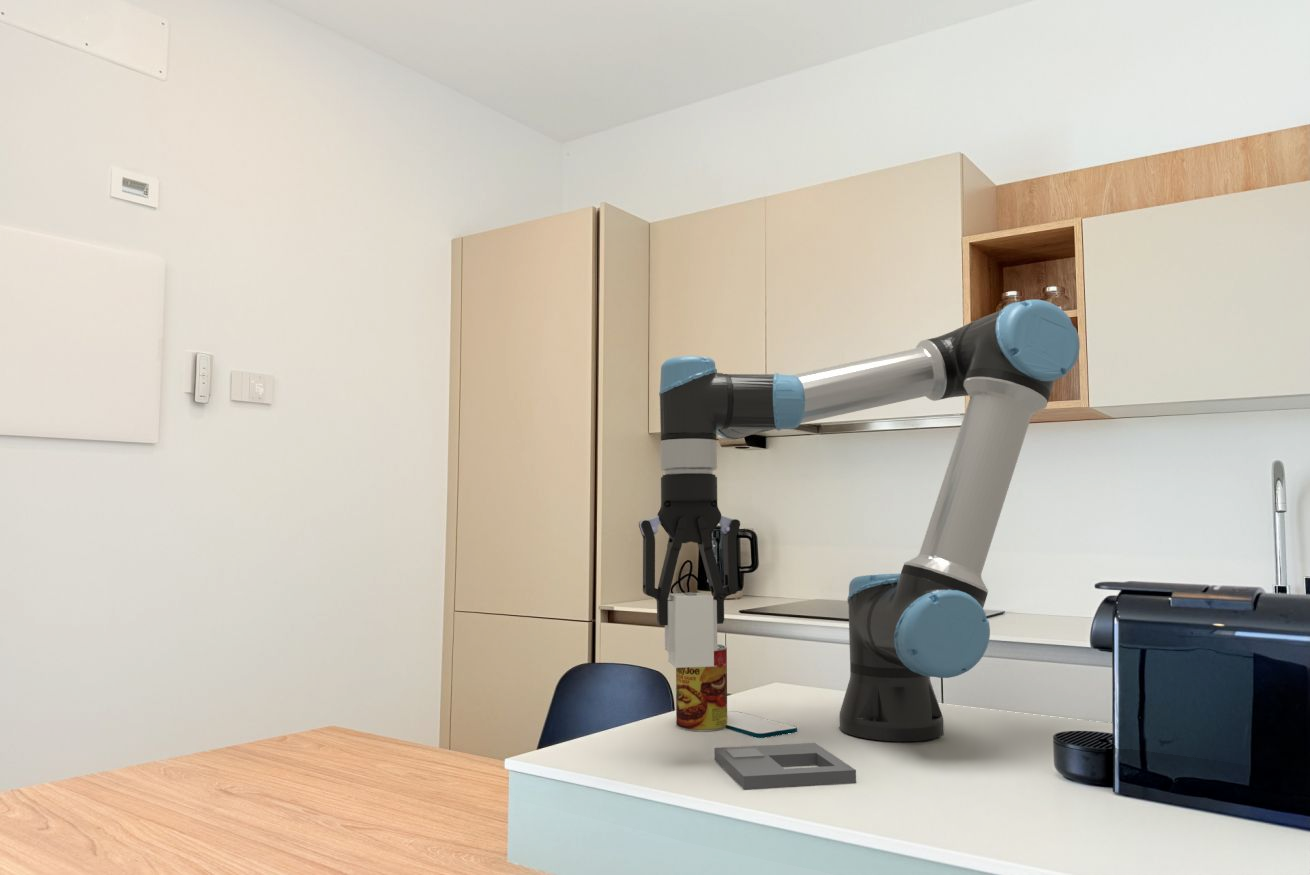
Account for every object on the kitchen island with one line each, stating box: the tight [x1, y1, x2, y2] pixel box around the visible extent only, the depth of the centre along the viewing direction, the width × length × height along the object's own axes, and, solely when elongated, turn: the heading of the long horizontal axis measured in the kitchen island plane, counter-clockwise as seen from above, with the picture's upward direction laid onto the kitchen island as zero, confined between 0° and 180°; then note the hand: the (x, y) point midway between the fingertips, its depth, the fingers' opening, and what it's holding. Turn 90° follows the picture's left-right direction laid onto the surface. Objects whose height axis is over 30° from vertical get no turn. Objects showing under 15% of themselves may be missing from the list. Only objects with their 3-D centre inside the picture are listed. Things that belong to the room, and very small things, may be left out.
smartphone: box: [725, 711, 798, 739], centre depth 145 cm, size 8×1×16 cm
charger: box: [667, 592, 714, 669], centre depth 124 cm, size 5×5×9 cm
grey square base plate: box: [713, 742, 857, 790], centre depth 118 cm, size 14×14×2 cm
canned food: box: [675, 643, 728, 732], centre depth 145 cm, size 8×8×12 cm
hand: (691, 649), depth 123 cm, fingers closed on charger, 5 cm apart
